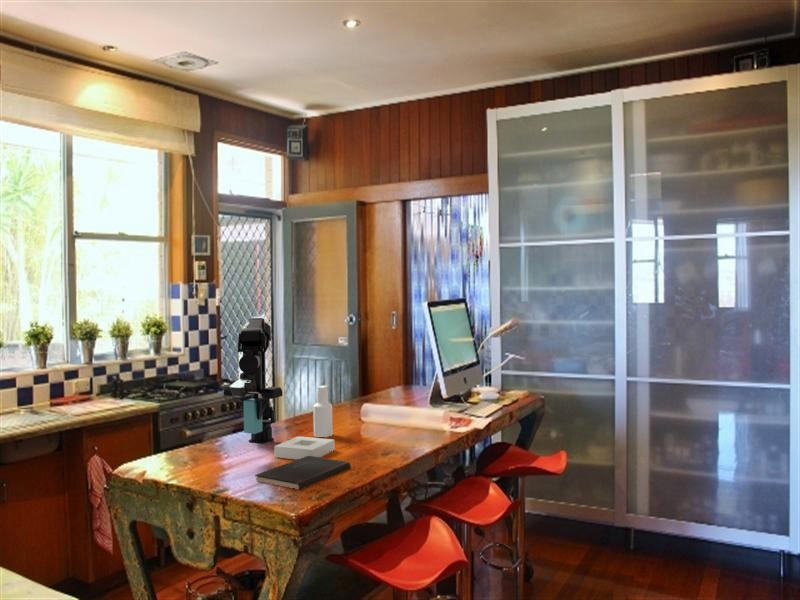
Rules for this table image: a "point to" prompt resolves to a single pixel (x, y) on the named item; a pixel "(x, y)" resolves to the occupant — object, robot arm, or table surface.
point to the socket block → (304, 447)
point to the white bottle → (322, 414)
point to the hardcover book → (303, 472)
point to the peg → (251, 417)
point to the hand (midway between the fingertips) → (253, 419)
